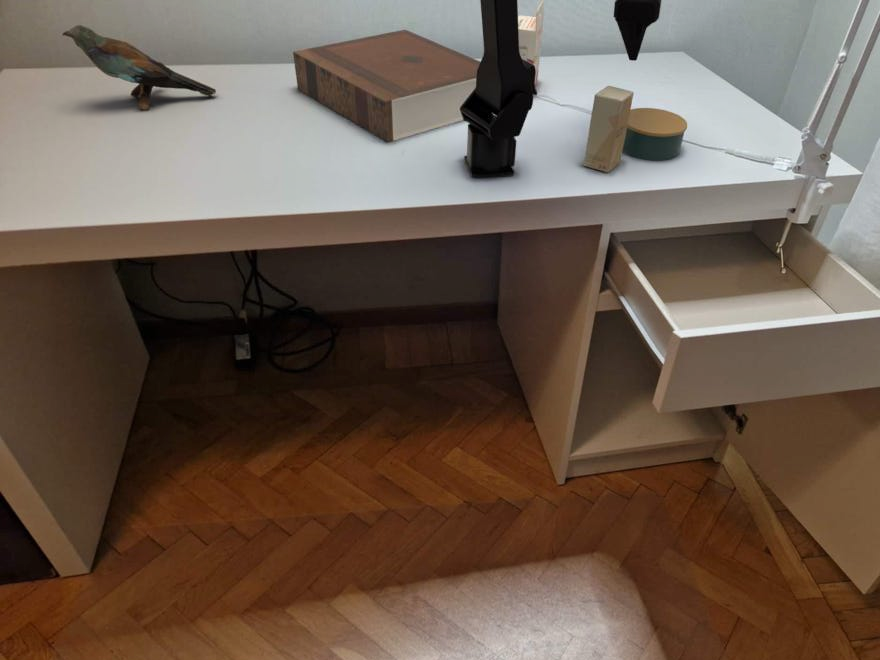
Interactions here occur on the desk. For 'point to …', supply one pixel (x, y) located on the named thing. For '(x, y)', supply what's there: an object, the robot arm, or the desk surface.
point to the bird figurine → (131, 65)
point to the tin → (654, 134)
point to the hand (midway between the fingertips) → (635, 48)
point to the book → (389, 82)
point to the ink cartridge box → (531, 37)
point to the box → (608, 128)
